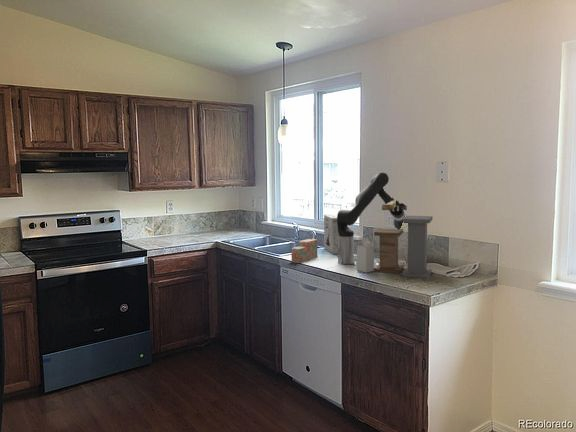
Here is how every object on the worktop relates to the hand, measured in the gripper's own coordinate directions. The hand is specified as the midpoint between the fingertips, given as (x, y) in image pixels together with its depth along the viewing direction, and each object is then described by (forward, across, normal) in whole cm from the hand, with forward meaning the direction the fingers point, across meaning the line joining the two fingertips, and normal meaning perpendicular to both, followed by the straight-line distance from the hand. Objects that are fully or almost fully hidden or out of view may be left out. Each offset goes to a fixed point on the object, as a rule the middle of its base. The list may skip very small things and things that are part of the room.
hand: (393, 201), depth 278 cm
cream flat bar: (+4, 0, +6) cm, 7 cm away
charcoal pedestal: (-3, +17, +43) cm, 46 cm away
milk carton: (-2, -12, +44) cm, 45 cm away
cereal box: (-45, -48, +19) cm, 68 cm away
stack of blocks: (-17, -57, +35) cm, 69 cm away
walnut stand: (-8, 0, +40) cm, 41 cm away
